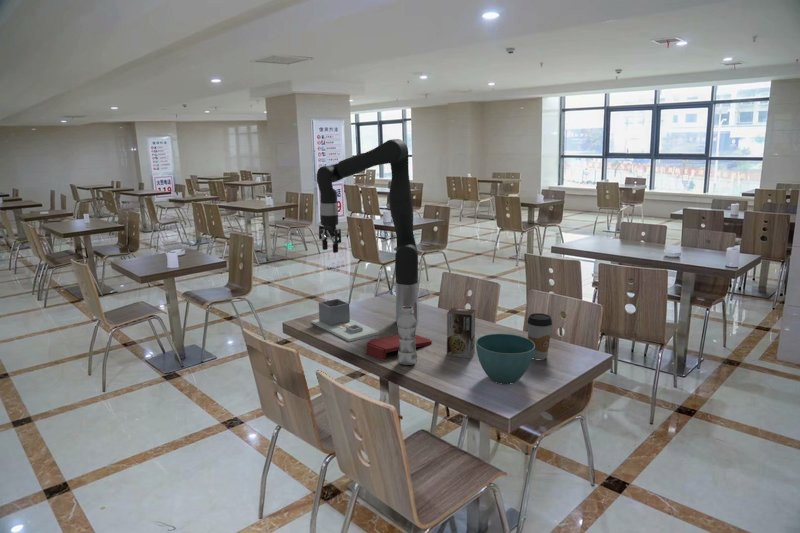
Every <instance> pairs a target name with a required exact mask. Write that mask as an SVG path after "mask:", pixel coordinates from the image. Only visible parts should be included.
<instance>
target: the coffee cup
mask: <svg viewBox="0 0 800 533" xmlns="http://www.w3.org/2000/svg"><path fill="white" fill-rule="evenodd" d="M552 321H553V320H552V316H550V315H549V314H547V313H539V312H538V313H537V312H536V313H534V312H533V313H530V314H529V316H528V318H527V330H528V331H527V339H529V340H531V341H532V342H534V344H535V351H534V355H533V358H534V359H545V358H546V359H547V358H548V355H549V354H548V353H549V347H550V341H551V332H552V325H553V322H552ZM534 359H533V360H534ZM546 359H545V360H546Z"/></svg>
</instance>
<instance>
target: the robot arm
mask: <svg viewBox="0 0 800 533" xmlns="http://www.w3.org/2000/svg"><path fill="white" fill-rule="evenodd" d="M387 164H389V165H390V170H391V182H390V186H389V194H388V201H389V209H390V210H389V212H390V215H391V219H392V224H393V226H394V230H395V238H396V245H395V246H396V249H395V250H396V251H395V256H394V259H395V260H394V262H395V263H394V264H395V266H394V269H395V271H394V272H395V274H394V275H395V322H396V324H397V322H398V319H399V318H400V316H401V315H402V313H401V311H402V307H404V306H410V307H413V313H412V315H413V316H414V318H415V319H416V322H417V324H418V322H419V252H418V248H417V243H416V239H415V234H414V233H415V232H414V205H413V197H412V196H413V195H412V188H411V181H410V172H409V171H410V170H409V147H408V145H407V143H406V142H405V141H404V140H402V139H398V138H395V139H389V140H387V141H385V142H383V143H381V144H379V145H378V146H376V147H375V148H372V149H370V150H368V151H366V152H363V153H360V154H357V155H353V156H350V157H348V158H345V159H342V160H340V161H338V162H337V163H335V164H331V165H324V166H320V167H319V168H318V170H317V173H316V182H317V186H318V190H319V193H320V195H319V197H320V207H319V211H320V212H319V217H320V218H319V219H320V225H319V226H318V238H319V240H320V241H321V246H322V250H324V251H327V250H328V248H329V247H328V243H329V242H328V239H329V240H330V241H331V243H332V253H333V254H335V253H339V244H341V243H342V232H341V228H337V226H338V225H339V207H338V206H339V205H338V192H337V190H336V189H335V188H334V187H333V183H337V182H339V181H341V180H343V179H345V178H347V177H352V176H354V175H357V174H359V173H363V171H366V170H369V169H370V168H373V167H376V166H380V165H387Z"/></svg>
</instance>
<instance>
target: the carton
mask: <svg viewBox="0 0 800 533" xmlns="http://www.w3.org/2000/svg"><path fill="white" fill-rule="evenodd" d="M432 342H433V341H432V340H431V339H429V338H427V337H423V336H421V335H417V334H415V346H416V348H420V347H425V346H426V347H427V346H430V345H432V344H433V343H432ZM365 351H366V352H365V353H366V354H365V355H366V356H370V357H372V358H374V359H377V360H379V359H380V361H384V360H386V359H387V353H388V354H389V353H391V352H396V351H397V352H398V351H399V334H397V335H389V336H383V337H382V336H381V337H376V338H372V339H371V340H369V341H368V342H367V344H366V350H365Z"/></svg>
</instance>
